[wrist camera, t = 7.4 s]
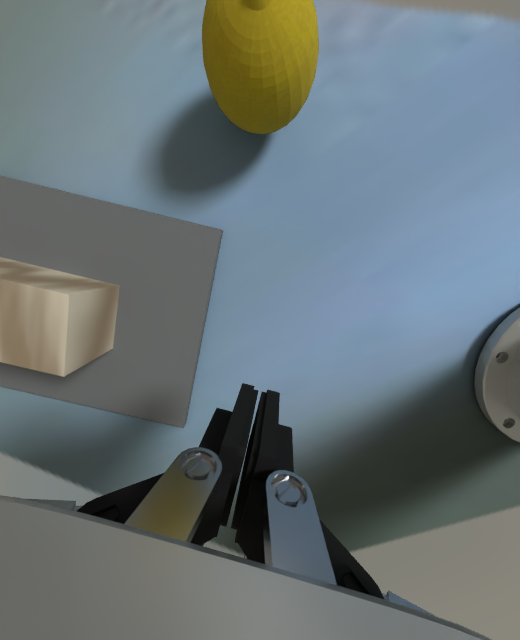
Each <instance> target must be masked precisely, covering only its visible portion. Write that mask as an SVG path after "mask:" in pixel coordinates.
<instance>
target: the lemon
mask: <svg viewBox="0 0 520 640" xmlns="http://www.w3.org/2000/svg"><path fill="white" fill-rule="evenodd" d="M202 45H203V61H204V67H205V71H206V74H207V78H208V82H209V86H210V89H211V91H212V94H213V96H214V97H215V99H216V101H217V103H218V105H219V107H220V109H221V110H222V112H223V113H224V114H225V115H226V116H227V117H228V118H229V120H230V121H231V122H232V123H234V124H235V125H236V126H238V127H239V128H241V129H242V130H245V131H248V132H251V133H254V134H267V133H271V132H275V131H277V130H279V129H281V128H283V127H284V126H286V125H287V124H288V123H289V122H290V121H291V120H292V119H294V118H295V117H296V115H297V114H298V113H299V111H300V109H301V108H302V106H303V105H304V103H305V102H306V100H307V97H308V95H309V92H310V89H311V87H312V84H313V81H314V78H315V73H316V66H317V59H318V51H319V39H318V26H317V15H316V10H315V6H314V3H313V0H207V1H206V6H205V12H204V18H203V25H202Z"/></svg>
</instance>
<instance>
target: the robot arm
mask: <svg viewBox="0 0 520 640" xmlns="http://www.w3.org/2000/svg"><path fill="white" fill-rule="evenodd" d="M474 385H475V392H476V398H477V401H478V403H479V406H480V409H481V410H482V412H483V413H484V415H485V416H486V418H487V419H488V420H489V421H490V422H491V423H492V424H493V425H494V426H495V427H496V428H497V429H499V430H500V431H501V432H503V433H504V434H506V435H507V436H509V437H510V438H511V439H513V440H515V441H517V442H520V308H518V309H517V310H515V311H514V312H512V313H511V314H510V315H509V316H508V317H507V318H506V319H505V320H504V321H503V322H502V323H501V324H500V325H499V326H498V327H497V328H496V329H495V331H494V332H493V333H492V335H491V336H490V337H489V339H488V340H487V342H486V344H485V346H484V348H483V350H482V352H481V353H480V356H479V359H478V363H477V366H476V370H475V382H474ZM257 395H258V390H254V386H252V385H248V384H244V383H242V386H241V389H240V392H239V395H238V398H237V401H236V404H235V406H234V409H233V412H231V411H227V410H223V409H220V408H217V409H216V410H215V413H214V415H213V417H212V419H211V421H210V423H209V426H208V428H207V430H206V432H205V434H204V436H203V439H202V441H201V443H200V445H199V447H194V448H189V449H187V450H185V451H183V452H182V453H180V454H179V455H178V456H177V458H176V459H175V460H174V461H173V463H172V464H171V465H170V466H169V468H168V469H167V470H166V472H165V473H163V474H160V475H157V476H155V477H152V478H149V479H147V480H144V481H141V482H139V483H136V484H133V485H130V486H128V487H125V488H122V489H120V490H117V491H114V492H112V493H109V494H106V495H104V496H101V497H98V498H96V499H94V500H92V501H89V502H87V503H86V504H85V505H84V506H75V502H76V501H62V500H60V501H59V500H39V499H21V498H14V497H7V496H0V640H491V639H489V638H488V637H486V636H484V635H481V634H479V633H477V632H475V631H472V630H470V629H468V628H466V627H464V626H461V625H459V624H456V623H453V622H450V621H447V620H444V619H442V618H439V617H436V616H434V615H433V614H431V613H429V612H427V611H425V610H423V609H422V608H420V607H418V606H416V605H414V604H412V603H411V602H409V601H407V600H405V599H403V598H401V597H399V596H397V595H396V594H394V593H392V592H390V591H388V592H387V595H385V594H383V593H381V591H380V589H379V587H378V585H377V584H376V583H375V581H374V580H373V579H372V577H371V576H370V575H369V574H368V573H367V572H366V571H365V570H364V568H363V567H362V566H361V565H360V564H359V563H358V562H357V561H356V560H355V558H354V557H353V556H352V555H351V554H350V553H349V552H348V551H347V549H346V548H345V547H344V546H343V545H342V544H341V543H340V542H339V541H338V539H337V538H336V537H335V536H334V535H333V534H332V533H331V532H330V531H329V529H328V528H327V527H326V526H325V525H324V524H323V523H322V522H321V521H320V519H319V517H318V514H317V510H316V506H315V503H314V499H313V495H312V492H311V490H310V487H309V486H308V484H307V483H306V482H305V480H303V479H302V478H301V477H300V476H299V475H297V474H295V473H294V469H293V444H292V428H291V427H287V426H283V425H280V424H278V421H279V397H280V393H278V392H274V391H271V390H267V393H265V392H262V394H261V397H260V401H259V405H258V409H257V413H256V416H255V420H254V424H253V428H252V431H251V435H250V439H249V443H248V438H249V434H250V429H251V424H252V419H253V414H254V409H255V404H256V400H257ZM247 443H248V447H247ZM246 448H247V451H246ZM245 452H246V456H245ZM244 456H245V461H244V466H243V471H242V476H241V481H240V486H239V491H238V496H237V501H236V506H235V511H234V516H233V521H232V526H231V528H233V529H236V530H237V532H236V538H235V542H236V543H238V544H239V545H240V547H241V549H242V550H243V552H244V554H245V555H244V558H241V557H238V556H234V555H231V554H227V553H224V552H220V551H217V550H213V549H210V548H207V547H203V545H204V543H206V542H207V541H209V540H211V539H212V538H214V537H217V534H218V530H219V527H220V525H222V526H226V525H227V521H228V517H229V514H230V510H231V506H232V502H233V498H234V495H235V491H236V487H237V483H238V479H239V476H240V472H241V468H242V464H243V460H244Z"/></svg>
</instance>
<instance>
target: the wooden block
mask: <svg viewBox="0 0 520 640" xmlns="http://www.w3.org/2000/svg"><path fill="white" fill-rule="evenodd" d="M119 288H120V286H119V285H115V284H111V283H107V282H103V281H98V280H94V279H90V278H86V277H82V276H77V275H73V274H69V273H65V272H61V271H56V270H52V269H48V268H44V267H40V266H36V265H31V264H27V263H23V262H19V261H15V260H10V259H6V258H2V257H0V362H2V363H6V364H11V365H15V366H19V367H24V368H28V369H32V370H37V371H41V372H45V373H50V374H54V375H58V376H63V377H64V376H66V375H68V374H70V373H71V372H73V371H75V370H77V369H78V368H80V367H82V366H84V365H85V364H87V363H89V362H90V361H92V360H94V359H96V358H97V357H99V356H101V355H103V354H104V353H106V352H108V351H109V350H111V349H113V343H114V334H115V324H116V315H117V306H118V297H119Z"/></svg>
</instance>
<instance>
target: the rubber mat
mask: <svg viewBox="0 0 520 640" xmlns="http://www.w3.org/2000/svg"><path fill="white" fill-rule="evenodd" d="M222 233H223V230H221V229H216V228H212V227H208V226H204V225H200V224H196V223H192V222H188V221H184V220H180V219H175V218H171V217H167V216H163V215H159V214H155V213H151V212H147V211H143V210H139V209H135V208H130V207H126V206H122V205H118V204H114V203H110V202H106V201H102V200H98V199H94V198H89V197H85V196H81V195H77V194H73V193H69V192H65V191H61V190H57V189H53V188H48V187H44V186H40V185H36V184H32V183H28V182H24V181H20V180H16V179H12V178H7V177H3V176H0V257H2V258H6V259H10V260H15V261H19V262H23V263H27V264H31V265H36V266H40V267H44V268H48V269H52V270H56V271H61V272H65V273H69V274H73V275H77V276H82V277H86V278H90V279H94V280H98V281H103V282H107V283H111V284H115V285H119V286H120V288H119V297H118V306H117V315H116V324H115V334H114V343H113V349H111V350H109V351H108V352H106V353H104V354H103V355H101V356H99V357H97V358H96V359H94V360H92V361H90V362H89V363H87V364H85V365H84V366H82V367H80V368H78V369H77V370H75V371H73V372H71V373H70V374H68V375H66V376H64V377H63V376H58V375H54V374H50V373H45V372H41V371H37V370H32V369H28V368H24V367H19V366H15V365H11V364H6V363H2V362H0V386H3V387H7V388H12V389H16V390H20V391H25V392H29V393H33V394H38V395H42V396H46V397H51V398H55V399H60V400H64V401H68V402H73V403H77V404H81V405H86V406H90V407H94V408H99V409H103V410H108V411H112V412H116V413H121V414H125V415H129V416H134V417H138V418H142V419H147V420H151V421H156V422H160V423H164V424H169V425H173V426H177V427H182V428H184V426H185V424H186V420H187V415H188V409H189V404H190V399H191V394H192V389H193V383H194V378H195V373H196V368H197V363H198V358H199V352H200V347H201V342H202V337H203V332H204V326H205V321H206V316H207V311H208V306H209V301H210V295H211V290H212V285H213V280H214V275H215V269H216V264H217V259H218V254H219V249H220V244H221V238H222Z"/></svg>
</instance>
